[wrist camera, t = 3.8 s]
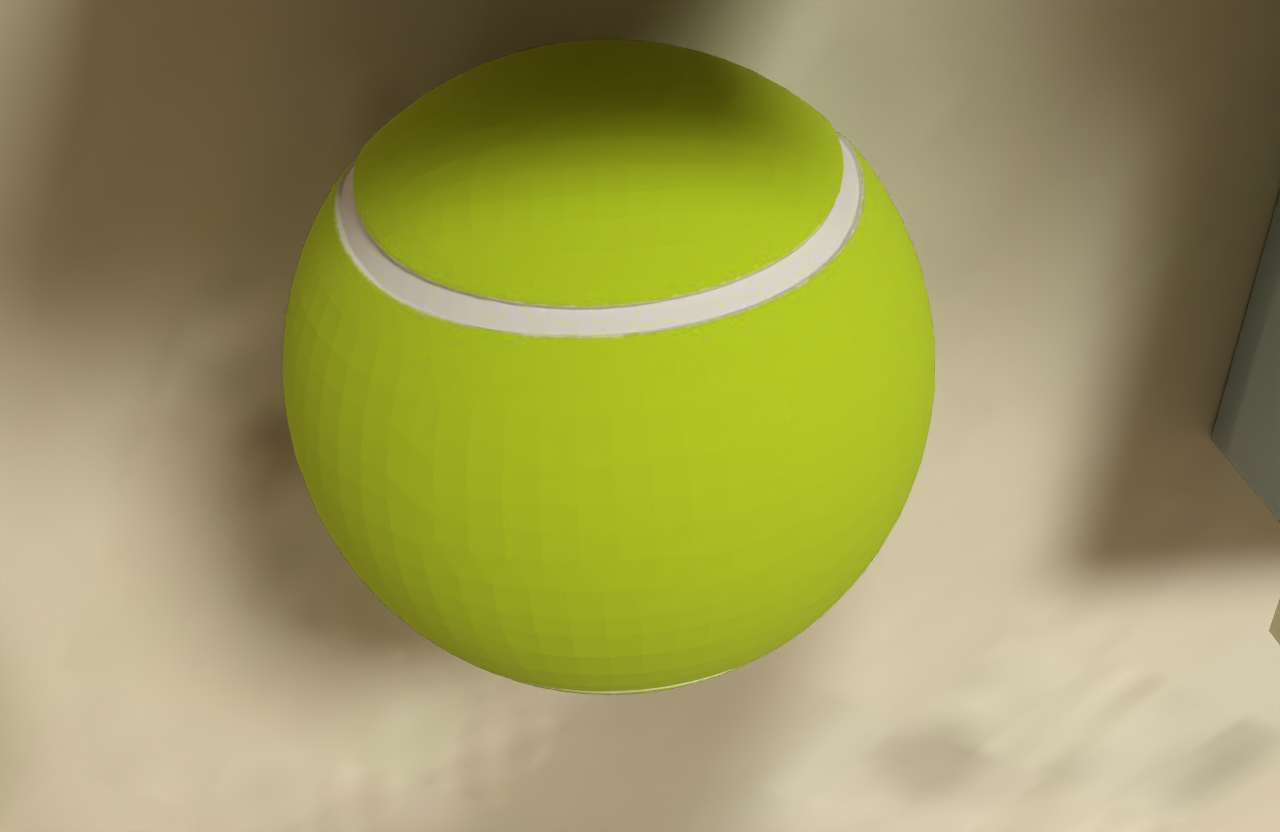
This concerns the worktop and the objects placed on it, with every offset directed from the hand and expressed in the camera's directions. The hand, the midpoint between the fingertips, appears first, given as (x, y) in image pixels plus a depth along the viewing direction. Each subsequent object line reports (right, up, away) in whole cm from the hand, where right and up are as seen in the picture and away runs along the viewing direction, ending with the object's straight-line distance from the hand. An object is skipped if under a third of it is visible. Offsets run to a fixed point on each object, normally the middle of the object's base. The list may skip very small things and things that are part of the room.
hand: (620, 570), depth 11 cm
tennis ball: (0, +4, +5) cm, 7 cm away
